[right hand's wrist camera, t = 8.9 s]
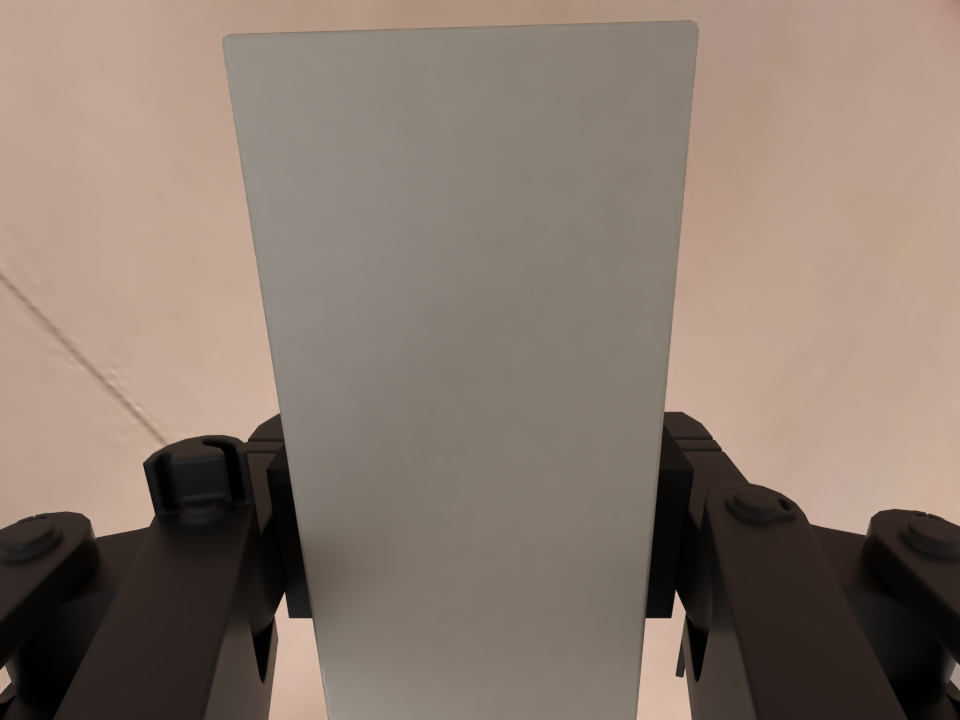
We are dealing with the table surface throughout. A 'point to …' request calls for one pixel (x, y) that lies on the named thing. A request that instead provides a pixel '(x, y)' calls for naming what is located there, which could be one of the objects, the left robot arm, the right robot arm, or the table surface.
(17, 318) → the table surface
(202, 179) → the table surface
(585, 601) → the beam
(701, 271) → the table surface
